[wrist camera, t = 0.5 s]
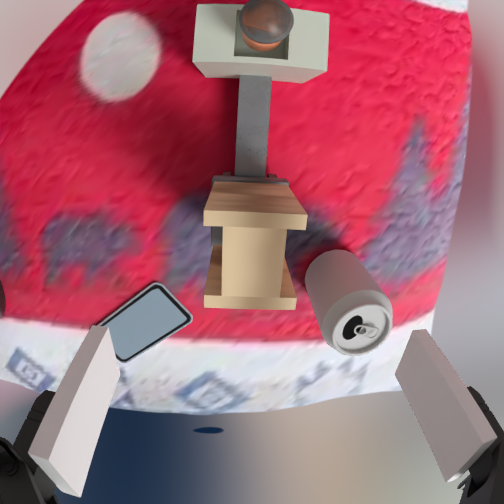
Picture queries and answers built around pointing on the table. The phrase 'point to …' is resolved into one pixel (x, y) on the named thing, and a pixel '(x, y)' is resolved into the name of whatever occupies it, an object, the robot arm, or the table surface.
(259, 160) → the rail
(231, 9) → the grey hollow block
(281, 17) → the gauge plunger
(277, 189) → the carriage
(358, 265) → the can
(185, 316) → the smartphone
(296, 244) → the table surface
